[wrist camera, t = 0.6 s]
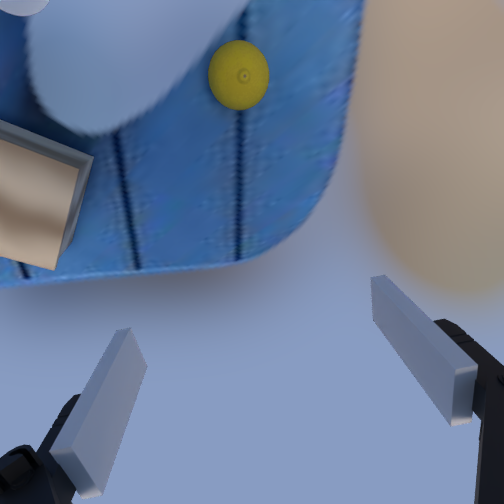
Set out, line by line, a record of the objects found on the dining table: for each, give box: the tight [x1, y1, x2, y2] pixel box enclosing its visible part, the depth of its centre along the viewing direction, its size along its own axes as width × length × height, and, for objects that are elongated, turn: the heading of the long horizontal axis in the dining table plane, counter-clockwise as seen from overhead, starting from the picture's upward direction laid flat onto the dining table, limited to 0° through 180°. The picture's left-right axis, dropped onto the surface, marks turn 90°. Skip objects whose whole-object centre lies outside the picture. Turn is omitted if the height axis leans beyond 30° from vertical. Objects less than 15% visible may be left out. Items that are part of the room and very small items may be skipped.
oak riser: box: [0, 120, 94, 271], centre depth 31 cm, size 12×12×6 cm
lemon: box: [208, 40, 269, 110], centre depth 28 cm, size 6×6×8 cm
